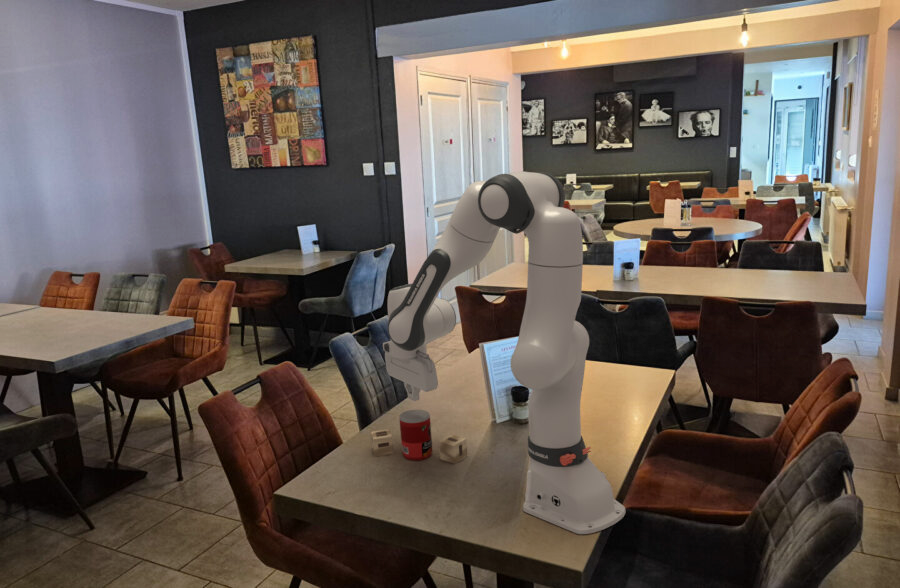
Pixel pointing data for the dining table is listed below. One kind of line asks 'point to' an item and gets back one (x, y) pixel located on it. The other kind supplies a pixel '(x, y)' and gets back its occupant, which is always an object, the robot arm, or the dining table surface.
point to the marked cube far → (382, 442)
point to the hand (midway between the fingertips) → (413, 399)
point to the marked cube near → (453, 449)
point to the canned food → (416, 434)
